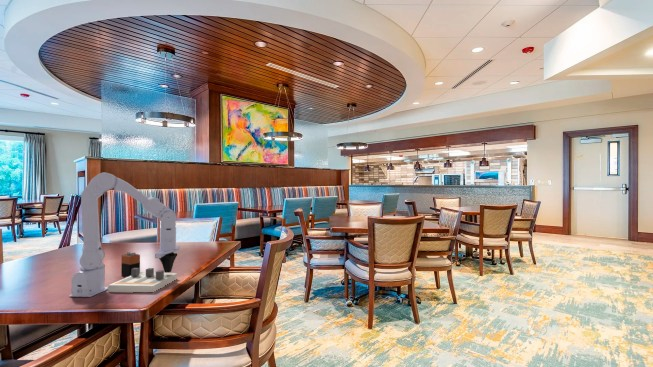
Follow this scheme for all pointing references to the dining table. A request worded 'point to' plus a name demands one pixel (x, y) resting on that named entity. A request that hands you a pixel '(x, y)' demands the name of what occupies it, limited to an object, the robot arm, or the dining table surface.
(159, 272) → the block
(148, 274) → the block
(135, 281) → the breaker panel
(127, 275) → the battery
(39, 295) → the dining table surface
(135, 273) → the block
